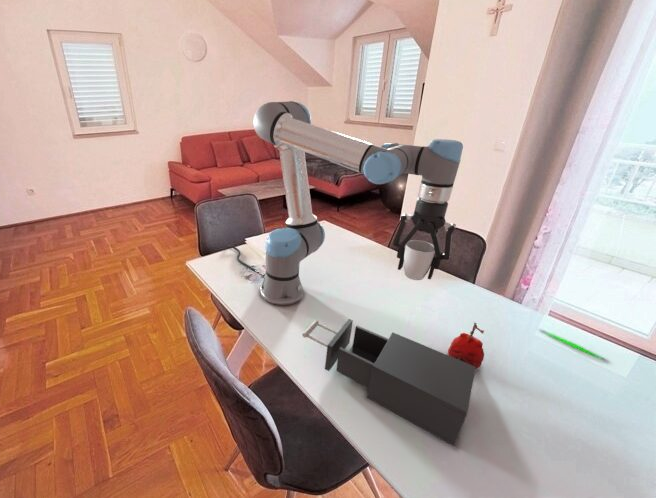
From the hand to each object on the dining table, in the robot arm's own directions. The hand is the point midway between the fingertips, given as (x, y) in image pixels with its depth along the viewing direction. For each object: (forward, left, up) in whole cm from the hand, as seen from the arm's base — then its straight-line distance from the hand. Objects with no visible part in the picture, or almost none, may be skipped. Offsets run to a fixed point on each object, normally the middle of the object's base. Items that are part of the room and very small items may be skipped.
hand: (414, 272), depth 93 cm
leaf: (+41, +17, -17) cm, 48 cm away
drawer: (-6, -29, -16) cm, 34 cm away
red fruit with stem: (+17, -10, -17) cm, 26 cm away
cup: (0, 0, -1) cm, 1 cm away
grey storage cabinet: (+10, -29, -17) cm, 35 cm away
